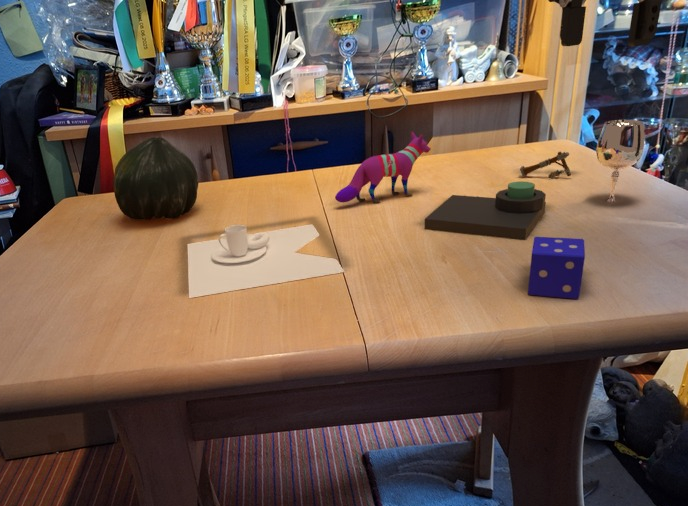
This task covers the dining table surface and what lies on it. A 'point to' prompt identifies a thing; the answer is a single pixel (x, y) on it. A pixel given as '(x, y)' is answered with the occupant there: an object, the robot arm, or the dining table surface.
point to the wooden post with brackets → (548, 162)
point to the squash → (155, 181)
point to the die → (556, 267)
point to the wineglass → (620, 147)
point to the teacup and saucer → (254, 260)
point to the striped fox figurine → (384, 171)
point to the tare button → (521, 190)
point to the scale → (489, 215)
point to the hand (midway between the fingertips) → (602, 45)
